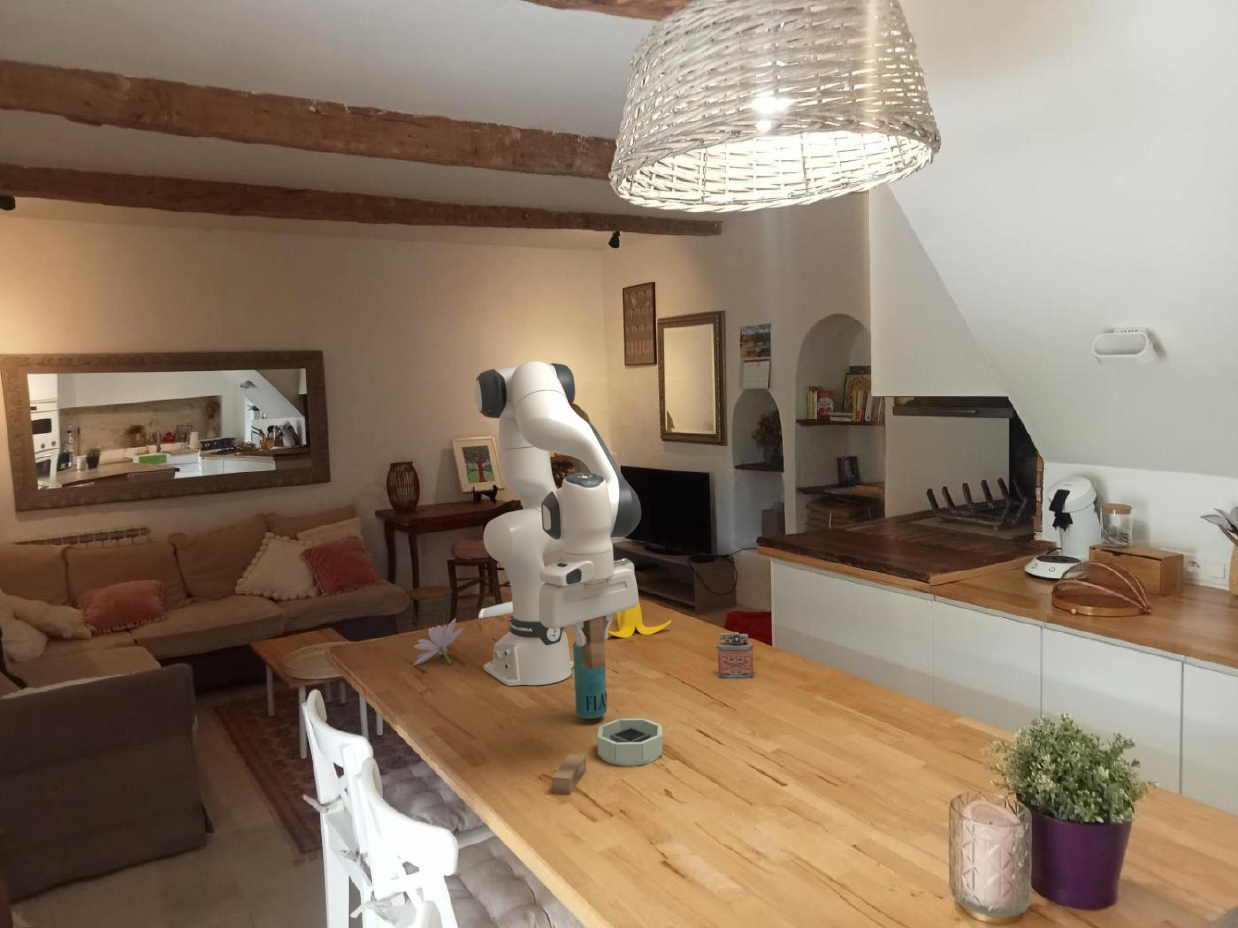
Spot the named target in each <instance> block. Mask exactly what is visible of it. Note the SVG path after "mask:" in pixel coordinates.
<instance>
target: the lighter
mask: <svg viewBox="0 0 1238 928" xmlns="http://www.w3.org/2000/svg"><path fill="white" fill-rule="evenodd" d="M748 637H749V635H748V634H747V633H739V632H738V631H735V632H734V633H720V634H719V640H720V641H724V642H718V643H717V644H716V648H717V664H718V665H717V666H718V669H717V670H718V672H717V679H721V680H750V679H753V678H755V671H754V655H753V654H754V653H753V652H754V650H753V649H754V643H752V642H748V639H749V638H748Z"/></svg>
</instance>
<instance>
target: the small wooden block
mask: <svg viewBox="0 0 1238 928" xmlns="http://www.w3.org/2000/svg"><path fill="white" fill-rule="evenodd" d="M586 760H587V759H586V755H581V754H572V753H571V754H568V755H567V757H566V758H565V759H564V760H563V761H562V763H561V765H560V766H559V767H558V768H557V770H556V771H555V772H554V774H553V775H552V777H551V781H552V783H551V784H552V794H557V795H558V794H560V795H572V793H573V791H574V789H575V788H576V787H577V785H578V784H579V783H580V781H581V779H582V778H583V776H584V775H585V773H586V771H587V764H586V763H587V761H586Z"/></svg>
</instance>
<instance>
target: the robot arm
mask: <svg viewBox="0 0 1238 928" xmlns="http://www.w3.org/2000/svg"><path fill="white" fill-rule="evenodd" d="M576 393H577V383H576V380H575V377H574V374H573V372H572V370H571V369H570V367H569V366H568V365H566V364H563V363H562V364H561V363H556V362H552V363H550V364H548V363H546V362H543V361H540V360H530V361H526V362H523V363H521V364H520V365H515V366H509V367H508V366H507V367H502V368H499V369H495V368H491V369H488V370H487V369H486V370H485V371H482V372H480V373H479V375H478V376H477V377H476V379H475V382H474V388H473V398H474V402H475V405H476V406H477V408H478V412H479V413H481V414H482V416H484V418H489V419H498V443H499V444H498V445H499V456H500V463H501V464H500V465H501V473H502V482H503V483H504V485H505V486H506V487H507V489H509V490H511V491H513V492H515V493H516V495H517V496H518V498H519V500H520V502H521V505H522V509H519V510H514V511H509V512H505V513H503V514H501V515H499V516H497V517H495V518H493V519H491V520H490V521H488V522H487V524H486V525H485V528H484V530H483V544H484V545H483V546H484V548H485V550H486V551H487V553H488V554H489V556H490V558H492V559H493V560H495V561H497V562H498V563H499V564H500V565H501V566H502V567H503V569H504V571H505V573H506V576H507V578H508V582H509V585H510V589H511V591H510V592H511V599H512V601H511V602H512V614H513V615H510V616H507V618H506V619H507V621H506V622H507V623H509V622H510V624H509V628H508V632H507V633H506V634H504V635H503V636H502V637H501V638H500V639H499V640H498V641H496V642H495V644H494V645H493V654H492V656H493V660H491V661H488V662H487V663H485V664H484V665H483V671H485V672H487V673H488V674H490V675H491V676H493V677H494V678H495V679H497V680H498V681H499V682H501V683H503V684H504V685H505V686H508V687H510V686H511V687H512V686H540V685H541V686H542V685H549V684H553V683H558V682H561V681H563V680H566V679H568V678H569V677H570V676H571V675H572V673H573V671H572V669H573V668H574V660H571V657H570V648H569V641H568V635H567V633H566V632H565V631H564V629H565V627H568V626H569V627H570V630H571V631H572V632H573V635H575V641H576V643H577V645H578V646H585V645H588V644H589V641H588V635H585V634H584V633H583V631H582V629H581V628H583V622H584V621H587V620H591V619H595V618H598V617H602V616H603V623H604V641H605V640H608V638H609V634H608V631H609V630H610V627H611V624H612V622H613V618H614V617H613V614H617V612H621V611H624V610H628V609H632V608H635V607H636V606H637V604H638V601H639V592H638V591H639V590H638V584H637V579H636V575H635V564H634V563H633V562H632V560H630V559H628V558H626V557H623V558H620V559H614V545H613V542H612V540H611V539H612V538H624V537H625V538H626V537H628V536H629V535H630V534H631V533H633V531H634V530H635V529H636V527H638V525H639V523H640V522H641V519H642V507H641V501H640V500H639V496H638V494H637V493H636V492H635V490H634V489H633V487H632V486H631V485H630V484H629V483H628V481H627V480H626V479H625V477H624V475H623V474H622V472H621V470H620V469H619V466H618V464H617V463H616V461H615V459H614V457H613V455H612V454H611V452H610V450H609V448H608V447H607V444H606V443H605V442H604V440H603V438H602V436H601V435H600V433H599V432H598V430H597V429H596V427H595V426H594V425H593V424H592V423H590V422H589V421H587V420H585V419H583V418H582V417H581V416H580V415H579V414H577V412H576V411H575V410H574V409H573V408H572V407H571V406H572V404H573V403H574V401H575V397H576ZM550 452H551V453H555V454H560V455H565V456H569V457H571V458H575V459H577V460H578V461H581V462H582V463H584V464H585V465H586V466H587V468H588V470H589V471H590V472H577V473H575V472H574V473H571V474H569V475H567V476H565V477H564V478H563V479H562V483H561V487H560V488H557V486H556V482H555V480H554V479H555V478H554V476H553V470H552V463H551V456H550ZM561 550H562V554H563V555H562V556H560V557H559V558H557V559H556V560H555V561H553V562H551V563H550V564H549V565H547V566H545V564H544V563H545V562H544V558H543V557H544V555H546V554H550V553H553V552H557V551H561ZM639 602H640V601H639Z"/></svg>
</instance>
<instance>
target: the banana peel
mask: <svg viewBox="0 0 1238 928" xmlns="http://www.w3.org/2000/svg"><path fill="white" fill-rule="evenodd" d="M616 621H617V622H616V623H617V627H618V629H619V630H618V631H611V630H608V636H614V637H618V638H623V639H625V638H626V639H627V638H630V637H632V636H633V635H634V633H635V630H637V632H638V633H640V634H642V635H643V636H644V635H646V636H647V635H652V634H655V633H658V632H660V631H662V630H663V629H664V628H666V627H667V626H669V625H670V624H671V623H672V622H673V621H672V620H671V619H669V620H668V621H666V622H665V623H663V624H660V625H655V626H646V625H644V623H643V614H642V609H641V603H640V601H638V604H637V606H636V607H635V608H632V609H628V610H624V611H621V612H617V613H616Z"/></svg>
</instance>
